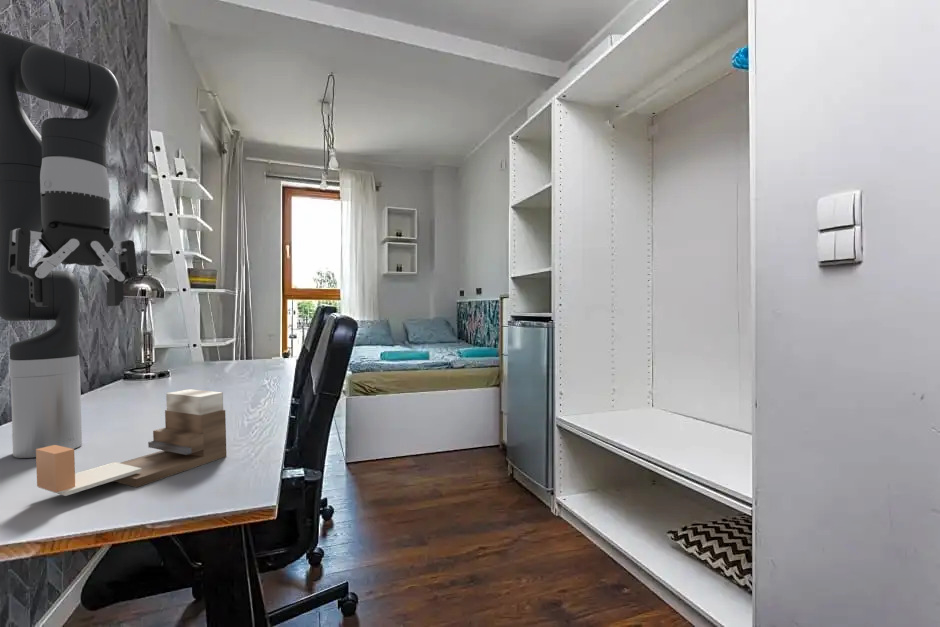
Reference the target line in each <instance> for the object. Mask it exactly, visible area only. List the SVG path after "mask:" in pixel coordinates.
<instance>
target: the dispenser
mask: <svg viewBox="0 0 940 627" xmlns="http://www.w3.org/2000/svg"><path fill="white" fill-rule="evenodd" d="M165 394H166V396H165V397H166V410H164V416H165V417H164V419H165V422H164V423H165V427H162V428H159V429H154V430H152V435H153V436H152V437H153V440H151V441H148V445H147V446H148V449H149V448H150V449H155V450H158V451H157V452H153V453H149V454H146V455H143V456H142V455H141V456H139V457H134V458H132V459H129V460H125V461H121V462H120V463H121V464H125V465H130V466H134V467H138V468H142V472H139V473H136V474H133V475H130V476H127V477H124V478H120V479H117V480H114V481H113V482H115V483H117V484H118V483H119V484H123V485H125V486H130V487H133V488H139V487H142V486H144V485H147V484H150V483H153V482H156V481H160V480H161V479H165V478H167V477H171V476H174V475H176V474H179V473H182V472H184V471H188V470H191V469H193V468H197V467H199V466H203V465H205V464H208V463H211V462H214V461H217V460H221V459H223V458H225V457H227V456H228V455H227V427H226V426H227V425H226V424H227V421H226V420H227V419H226V410H225V409H224V393H223V392H219V391H212V390H210V391H209V390H200V389H191V388H189V389H183V390H177V391H171V392H166V393H165Z"/></svg>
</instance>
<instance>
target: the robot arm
mask: <svg viewBox="0 0 940 627" xmlns="http://www.w3.org/2000/svg"><path fill="white" fill-rule="evenodd" d="M17 92H19V93H22V94H26V95H30V96H34V97H36V98H38V99H41V100H44V101H47V102H50V103H54V104H59V105H60V106H61V105H62V106H66V107H70V108H72V109H73V108H75V109H77V110H82V111H84V112H86V113H87V115H86V117H81V118H79V117H78V118H77V117H76V118H73V117H50V118H46V119H44V120H43V121H42V124H41V127H40V132H39V131H38V130H37V129H36V128H35V126H34V125H33V124H32V122H31V121H30V119H29V117H28V116H27V114H26V112H25V111H24V108H23V107H22V104H21V101H20V97H19V95H18V93H17ZM119 96H120V85H119V81H118V80H117V78H116V76H115V74H113V72H112V71H111V70H110V69H109V68H108V67H106V66H104V65H102V64H99V63H96V62H93V61H91V60H88V59H87V60H86V59H84V58H80V57H78V56H75V55H71V54H69V53H65V52H62V51H61V50H56V49H54V48H51V47H48V46H46V45H43V44H39V43H36V42H33V41H30V40H28V39H24V38H22V37H18V36H15V35H12V34H8V33H4V32H0V318H1V319H2V320H4V321H7V322H8V321H9V322H25V321H27V322H28V321H34V322H35V321H55V324H54V326H53V327H51V328H50V329H49V330H47V331H45V332H43V333H42V334H39V335H36V336H34V337H33V336H32V337H29V338H27V339H23V340H19V341H16V342H14V343H12V344H11V345H9V346H10V347H9V352H8V353H9V371H10V372H9V373H10V376H9V377H10V398H11V400H10V401H11V404H10V405H11V429H12V431H11V432H12V434H11V435H12V436H11V438H12V439H11V440H12V457H14V458H18V459H26V458H27V459H28V458H36V449H39V448H43V447H48V446H52V445H58V446H62V447H67V448H71V449H74V450H75V449H77V448H79V447H81V446H82V445H83V436H82V435H83V432H82V431H83V430H82V425H83V424H82V399H81V398H82V395H81V391H82V390H81V366H80V344H79V343H80V342H79V339H80V338H79V312H80V310H79V309H80V285H79V284H80V283H79V281H78V278H77V276H76V275H75V274H74V273H73V272H72V271H66V270H54V269H55V268H56V267H58V266H59V265H60V264H61V265H78V266H84V267H85V266H86V267H90V266H93V267H94V268H95V269H96V270H97V271H99V272H100V273H101V274H102V275H103V277H105V278H106V280H107V281H108V282H107V281H106V284H105V285H106V305H107V306H108V307H119V306H120V305H121V303H123V302H124V298H125V297H124V282H125V281H127V280H130V279H135V278H136V277H138V266H137V257H136V256H137V255H136V246H135V241H134V240H132V239H127V240H113V238H112V237H111V234H110V232H111V206H110V205H111V204H110V203H111V201H110V200H111V194H110V183H109V176H108V172H107V136H108V131H109V127H110V123H111V119H112V117H113V114H114V111H115V109H116V106H117V103H118V101H119ZM37 241H39V243H40V245H42V246H43V247H44V248H45V250H46V251H45V253H44V254H43V255H41V257H39V258H38V259H37V260H36V263H34V265H33V266H30V256H31V255H30V254H31V253H30V252H31V246H35V244H36V242H37ZM112 249H114V252H115V253H116V254H117V255H118V264H119V266H117V263H116V262H115V261H114V260H113V258H112V257H111V255H109V252H110V251H111V250H112ZM118 267H119V268H118Z"/></svg>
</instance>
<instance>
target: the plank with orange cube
mask: <svg viewBox="0 0 940 627" xmlns="http://www.w3.org/2000/svg"><path fill="white" fill-rule="evenodd" d="M35 461H36V464H35V465H36V466H35V467H36V487H37V488H39V489H42V490H45V491H48V492H52V493H55V494H57V495H61V496H64V497H67V496H70V495H72V494H76V493H80V492H82V491H85V490H89V489H92V488H96V487H97V486H101V485H104V484H108V483H110V482H114V480H117V479H120V478H124V477H127V476H130V475H133V474H136V473H139V472H142V468H138V467H134V466H130V465H125V464H121V462H116V461H114V462H110V463H107V464H103V465H100V466H96V467H93V468H90V469H85V470H82V471H79V472H75V471H76V468H75V467H76V465H75V464H76V462H75V449H71V448H67V447H62V446H58V445H52V446H48V447H43V448H39V449H36V457H35Z"/></svg>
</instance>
